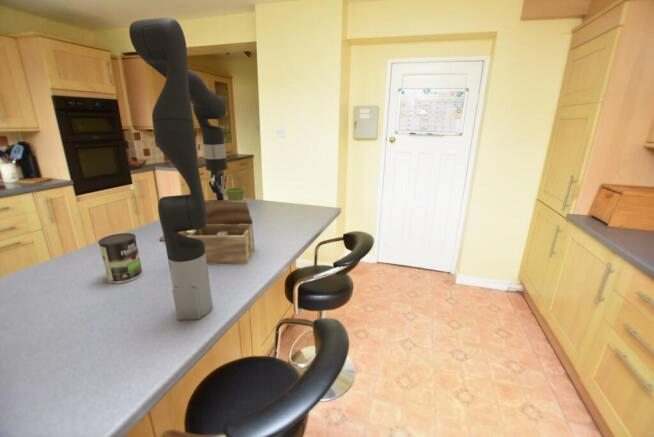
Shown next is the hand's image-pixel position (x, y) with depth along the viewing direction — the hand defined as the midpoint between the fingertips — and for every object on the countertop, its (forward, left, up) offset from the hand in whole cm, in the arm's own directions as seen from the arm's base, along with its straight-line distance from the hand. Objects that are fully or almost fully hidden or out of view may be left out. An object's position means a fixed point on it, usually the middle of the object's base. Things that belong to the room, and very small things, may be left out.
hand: (220, 202), depth 116 cm
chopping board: (+32, +19, -22) cm, 43 cm away
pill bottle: (-2, 0, -21) cm, 21 cm away
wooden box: (-2, 0, -22) cm, 22 cm away
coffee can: (-18, +29, -22) cm, 41 cm away
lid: (0, 0, -5) cm, 5 cm away
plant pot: (+71, +15, -22) cm, 75 cm away
